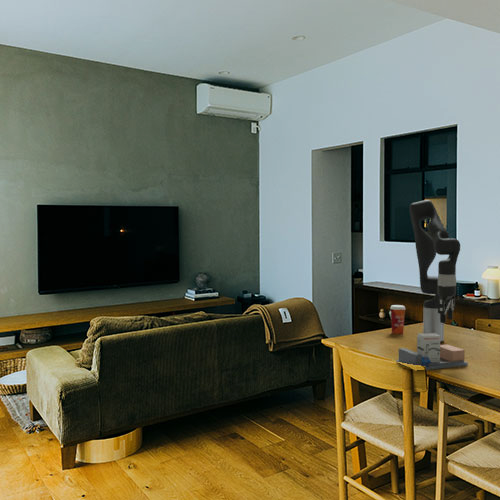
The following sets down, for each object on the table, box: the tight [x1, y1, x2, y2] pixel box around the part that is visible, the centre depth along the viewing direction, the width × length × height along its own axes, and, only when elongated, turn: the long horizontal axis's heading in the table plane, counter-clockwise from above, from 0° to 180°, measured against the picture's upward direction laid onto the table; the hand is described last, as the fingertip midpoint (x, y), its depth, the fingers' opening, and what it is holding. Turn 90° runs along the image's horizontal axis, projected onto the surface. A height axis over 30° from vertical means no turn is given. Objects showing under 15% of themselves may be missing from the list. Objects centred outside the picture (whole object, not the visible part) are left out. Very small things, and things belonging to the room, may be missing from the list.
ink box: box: [416, 332, 441, 363], centre depth 222 cm, size 9×5×12 cm, turn 97°
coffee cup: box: [389, 304, 406, 335], centre depth 285 cm, size 8×8×15 cm
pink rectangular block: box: [440, 344, 466, 361], centre depth 225 cm, size 6×11×5 cm, turn 18°
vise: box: [395, 347, 469, 371], centre depth 222 cm, size 26×14×6 cm, turn 108°
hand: (446, 321), depth 225 cm, fingers open, 8 cm apart
